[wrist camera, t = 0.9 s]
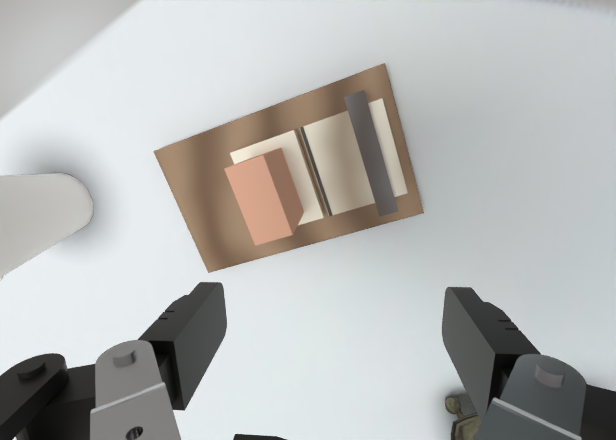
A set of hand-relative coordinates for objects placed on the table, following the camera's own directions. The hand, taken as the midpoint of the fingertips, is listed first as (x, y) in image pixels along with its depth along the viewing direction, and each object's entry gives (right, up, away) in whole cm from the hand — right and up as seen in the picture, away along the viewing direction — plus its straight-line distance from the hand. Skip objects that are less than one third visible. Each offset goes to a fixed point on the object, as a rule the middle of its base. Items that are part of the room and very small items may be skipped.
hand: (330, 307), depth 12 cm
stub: (-3, +7, +18) cm, 20 cm away
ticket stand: (-3, +7, +20) cm, 21 cm away
